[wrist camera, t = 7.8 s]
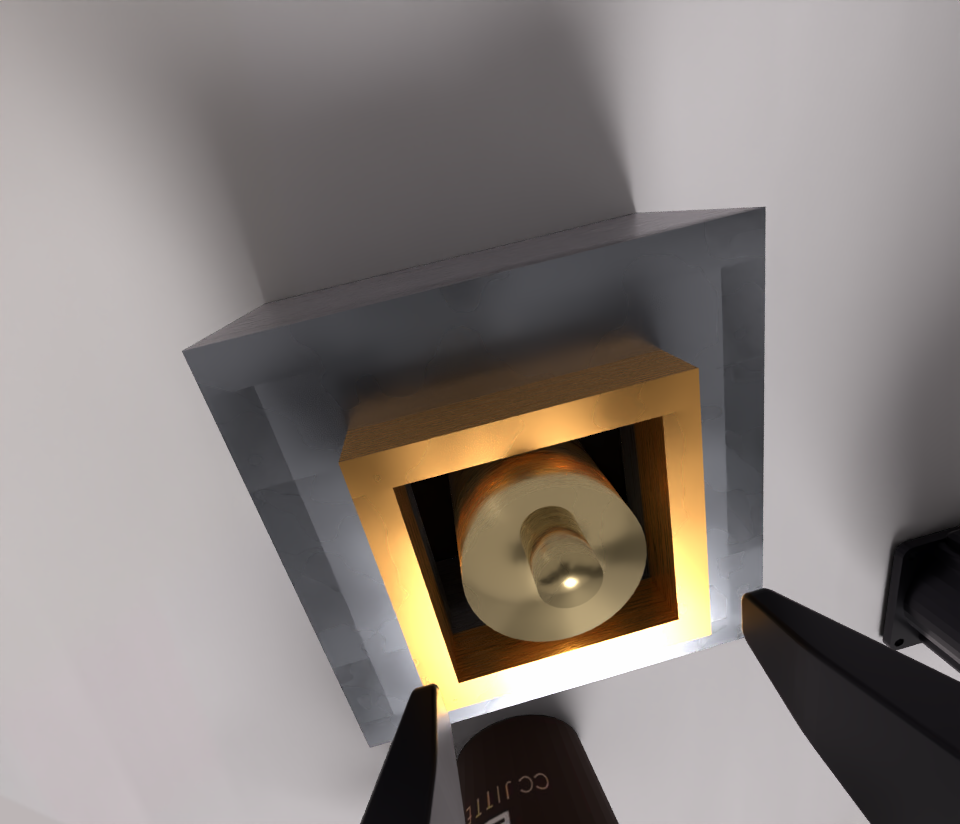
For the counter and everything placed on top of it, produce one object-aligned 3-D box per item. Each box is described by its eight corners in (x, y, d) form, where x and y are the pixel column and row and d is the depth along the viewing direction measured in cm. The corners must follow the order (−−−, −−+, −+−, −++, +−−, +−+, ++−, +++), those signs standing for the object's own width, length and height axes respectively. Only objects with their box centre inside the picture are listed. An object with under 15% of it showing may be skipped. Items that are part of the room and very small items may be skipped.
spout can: (574, 484, 17) (687, 670, 10) (460, 513, 17) (495, 724, 10) (555, 376, 15) (675, 505, 8) (431, 408, 15) (445, 566, 8)
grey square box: (663, 519, 20) (799, 675, 13) (379, 598, 19) (365, 805, 13) (636, 212, 16) (822, 204, 9) (264, 303, 15) (143, 373, 8)
